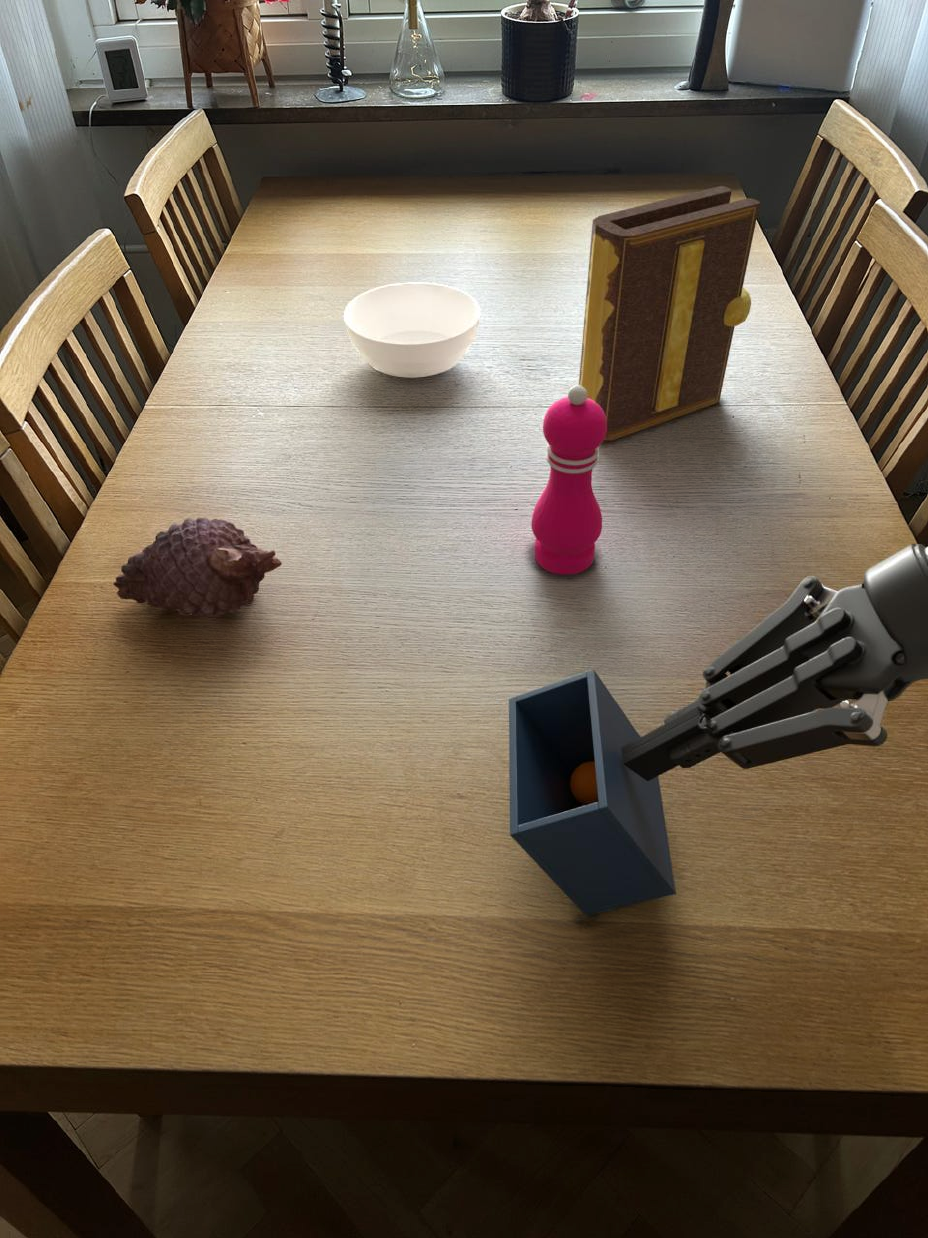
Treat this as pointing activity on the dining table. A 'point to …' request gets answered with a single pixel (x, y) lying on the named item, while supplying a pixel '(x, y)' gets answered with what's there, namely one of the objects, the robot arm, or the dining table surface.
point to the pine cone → (197, 569)
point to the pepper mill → (570, 485)
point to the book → (664, 306)
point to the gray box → (564, 828)
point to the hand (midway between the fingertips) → (634, 764)
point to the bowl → (412, 327)
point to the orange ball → (584, 783)
